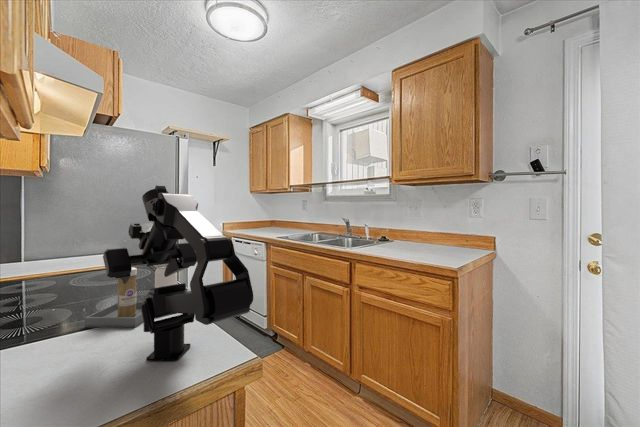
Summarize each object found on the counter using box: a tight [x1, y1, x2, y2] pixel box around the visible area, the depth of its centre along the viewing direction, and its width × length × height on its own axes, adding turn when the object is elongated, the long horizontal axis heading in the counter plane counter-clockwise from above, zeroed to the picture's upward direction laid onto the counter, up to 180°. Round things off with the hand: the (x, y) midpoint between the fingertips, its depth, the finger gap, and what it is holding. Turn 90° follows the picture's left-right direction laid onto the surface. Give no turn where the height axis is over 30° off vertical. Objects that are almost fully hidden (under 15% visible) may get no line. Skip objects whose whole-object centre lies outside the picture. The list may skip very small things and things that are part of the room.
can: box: [154, 264, 178, 288], centre depth 94 cm, size 6×6×12 cm
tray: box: [84, 301, 143, 329], centre depth 80 cm, size 13×13×2 cm
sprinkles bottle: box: [116, 266, 138, 317], centre depth 80 cm, size 5×5×14 cm
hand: (145, 278), depth 71 cm, fingers open, 9 cm apart
